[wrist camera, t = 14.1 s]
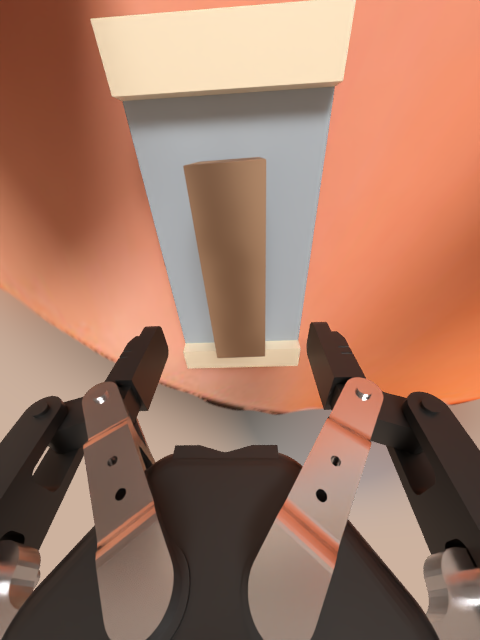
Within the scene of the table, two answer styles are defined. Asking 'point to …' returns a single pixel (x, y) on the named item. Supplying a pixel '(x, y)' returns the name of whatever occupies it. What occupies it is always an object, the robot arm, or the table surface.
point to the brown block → (232, 249)
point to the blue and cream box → (232, 137)
